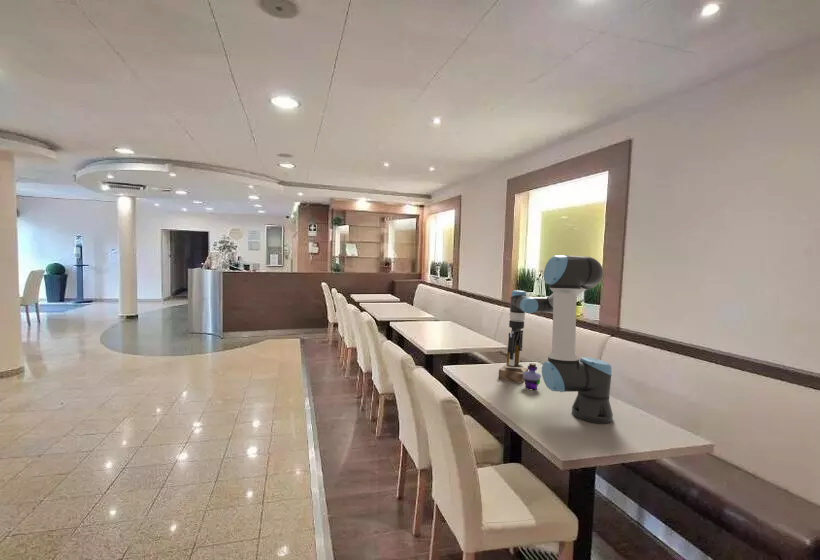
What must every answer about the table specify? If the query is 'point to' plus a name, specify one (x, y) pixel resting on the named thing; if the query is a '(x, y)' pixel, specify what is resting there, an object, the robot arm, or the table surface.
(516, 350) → the condiment
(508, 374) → the walnut block
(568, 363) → the robot arm
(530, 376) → the potion bottle
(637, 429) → the table surface
